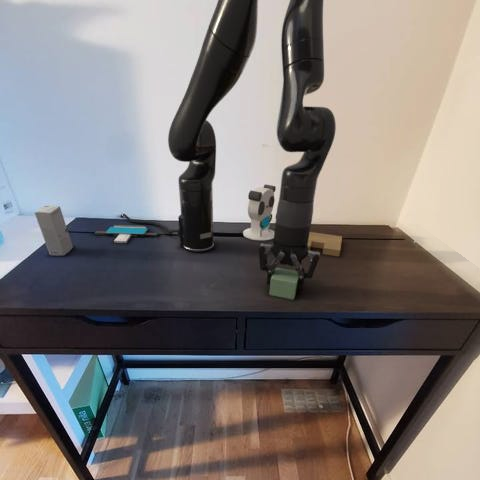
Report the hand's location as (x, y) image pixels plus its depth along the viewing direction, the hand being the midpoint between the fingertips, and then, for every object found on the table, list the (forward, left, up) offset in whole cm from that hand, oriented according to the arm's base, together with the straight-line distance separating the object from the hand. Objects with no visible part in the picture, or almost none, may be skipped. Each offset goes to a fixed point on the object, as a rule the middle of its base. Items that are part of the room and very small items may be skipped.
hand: (284, 288), depth 76 cm
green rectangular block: (0, +2, -1) cm, 2 cm away
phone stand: (-55, +16, -1) cm, 57 cm away
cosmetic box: (-65, -1, -1) cm, 65 cm away
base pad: (+5, +32, -1) cm, 32 cm away
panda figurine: (-15, +34, -1) cm, 37 cm away
